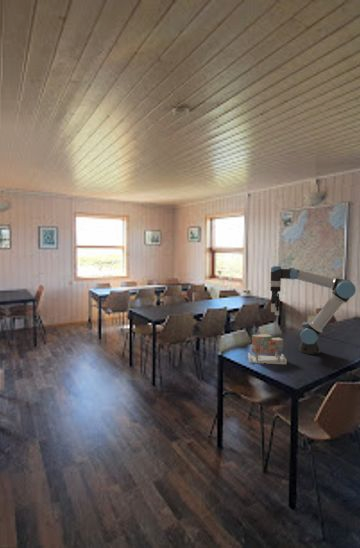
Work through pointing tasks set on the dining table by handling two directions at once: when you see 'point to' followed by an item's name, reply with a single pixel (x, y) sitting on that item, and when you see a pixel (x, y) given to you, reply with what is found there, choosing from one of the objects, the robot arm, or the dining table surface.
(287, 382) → the dining table surface
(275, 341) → the stack of blocks
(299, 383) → the dining table surface
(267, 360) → the rack with pegs
